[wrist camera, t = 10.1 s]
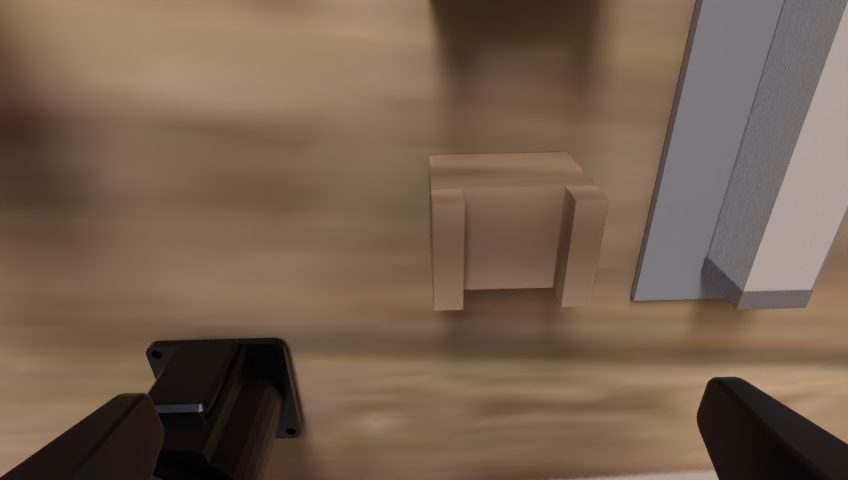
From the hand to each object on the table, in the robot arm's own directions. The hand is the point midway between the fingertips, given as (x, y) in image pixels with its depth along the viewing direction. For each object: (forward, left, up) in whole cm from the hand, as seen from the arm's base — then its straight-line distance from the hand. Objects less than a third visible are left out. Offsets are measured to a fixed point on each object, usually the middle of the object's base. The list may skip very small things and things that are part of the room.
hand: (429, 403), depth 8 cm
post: (-2, -3, -12) cm, 13 cm away
